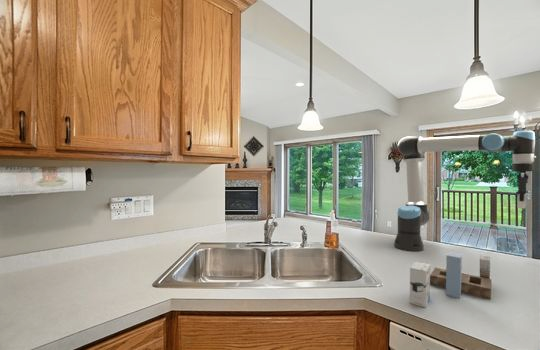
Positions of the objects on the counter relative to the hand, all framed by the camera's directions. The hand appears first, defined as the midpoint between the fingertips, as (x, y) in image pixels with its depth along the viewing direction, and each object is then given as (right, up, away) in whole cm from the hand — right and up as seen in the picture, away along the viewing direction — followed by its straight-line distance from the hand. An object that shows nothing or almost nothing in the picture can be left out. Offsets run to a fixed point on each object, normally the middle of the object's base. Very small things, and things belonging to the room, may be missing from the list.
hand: (521, 207), depth 127 cm
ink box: (-72, -27, -39) cm, 86 cm away
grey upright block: (-38, -27, -24) cm, 53 cm away
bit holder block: (-50, -27, -27) cm, 63 cm away
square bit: (-57, -27, -34) cm, 72 cm away
